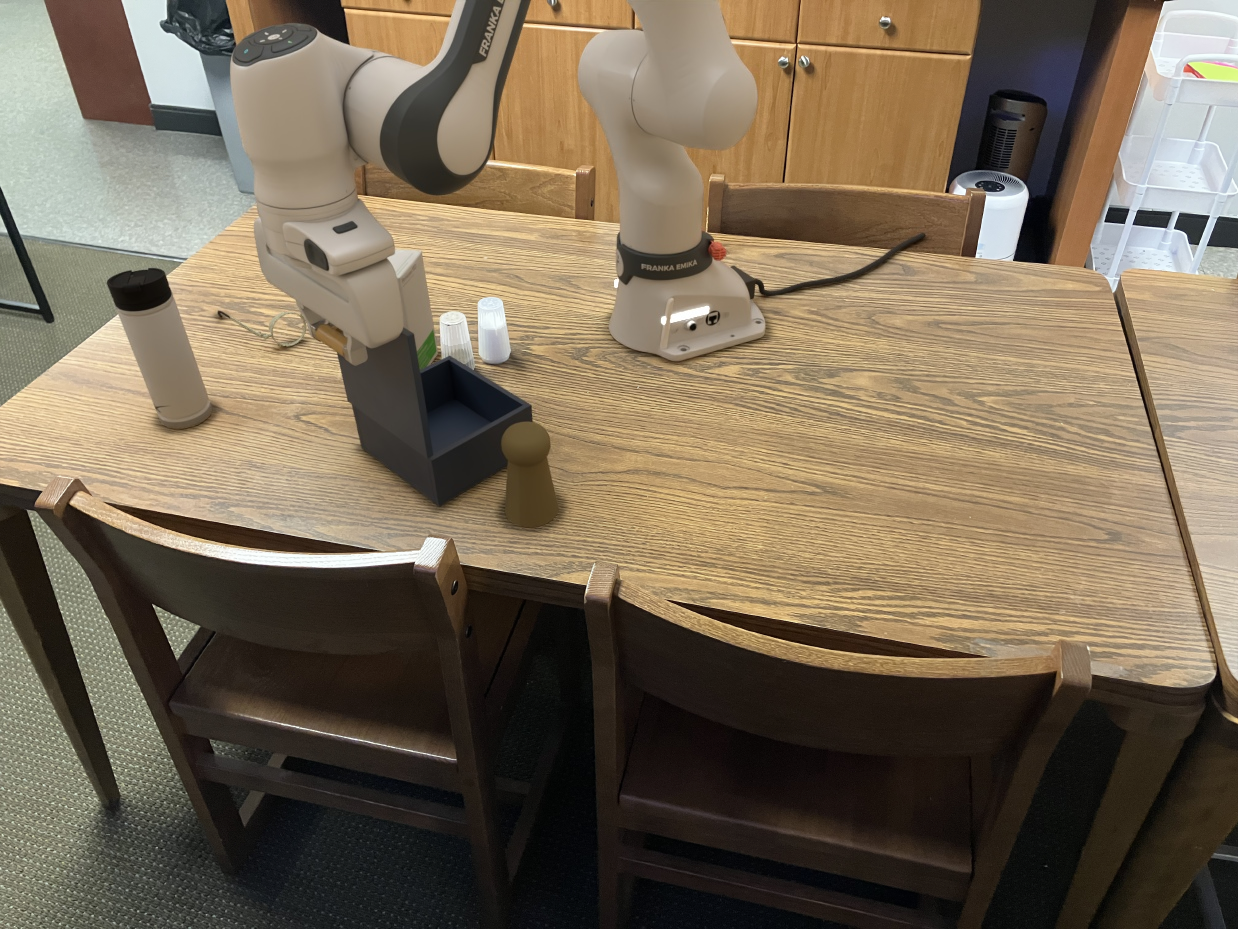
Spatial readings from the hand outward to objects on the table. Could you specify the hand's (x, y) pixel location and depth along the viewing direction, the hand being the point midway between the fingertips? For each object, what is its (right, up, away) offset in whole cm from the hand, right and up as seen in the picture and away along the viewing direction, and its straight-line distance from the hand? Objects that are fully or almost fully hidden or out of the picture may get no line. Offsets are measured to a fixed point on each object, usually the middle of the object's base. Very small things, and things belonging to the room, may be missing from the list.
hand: (339, 349), depth 94 cm
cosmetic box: (-1, +2, +33) cm, 33 cm away
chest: (+8, -10, +18) cm, 22 cm away
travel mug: (-26, -6, +24) cm, 36 cm away
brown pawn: (+19, -17, +10) cm, 27 cm away
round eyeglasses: (-20, +10, +43) cm, 48 cm away
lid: (+3, -1, +5) cm, 6 cm away
